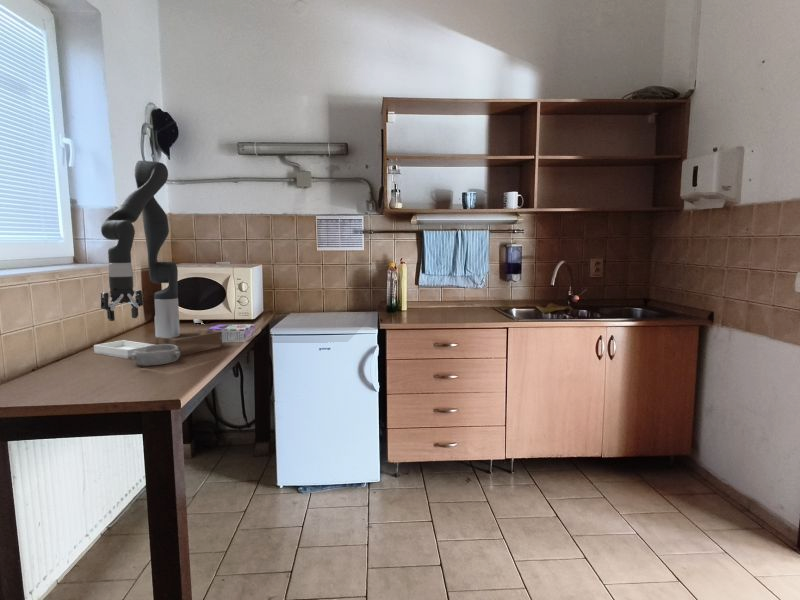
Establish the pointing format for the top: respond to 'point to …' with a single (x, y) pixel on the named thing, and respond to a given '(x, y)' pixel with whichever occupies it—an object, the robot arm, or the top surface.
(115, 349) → the tray
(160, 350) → the dish
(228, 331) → the candy box
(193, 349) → the bay
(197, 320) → the mug
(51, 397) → the top surface
